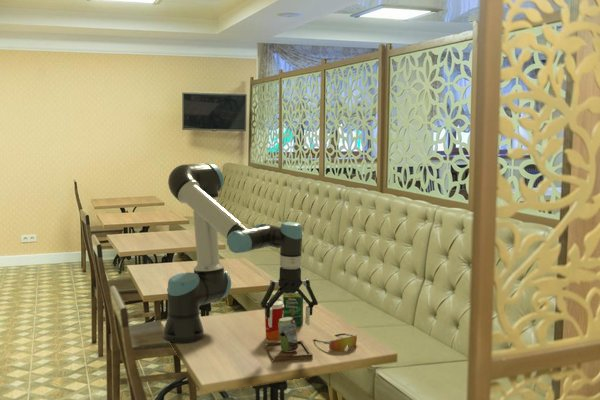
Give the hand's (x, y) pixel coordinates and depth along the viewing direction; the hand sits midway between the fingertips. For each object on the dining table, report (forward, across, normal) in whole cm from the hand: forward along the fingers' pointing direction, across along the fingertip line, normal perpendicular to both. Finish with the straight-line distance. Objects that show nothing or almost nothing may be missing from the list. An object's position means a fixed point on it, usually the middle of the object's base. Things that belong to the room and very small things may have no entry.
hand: (288, 325), depth 231 cm
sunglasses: (+11, +20, +6) cm, 23 cm away
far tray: (+10, 0, 0) cm, 10 cm away
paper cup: (+11, -2, +16) cm, 19 cm away
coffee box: (+11, +9, +30) cm, 33 cm away
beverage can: (+10, 0, 0) cm, 10 cm away
